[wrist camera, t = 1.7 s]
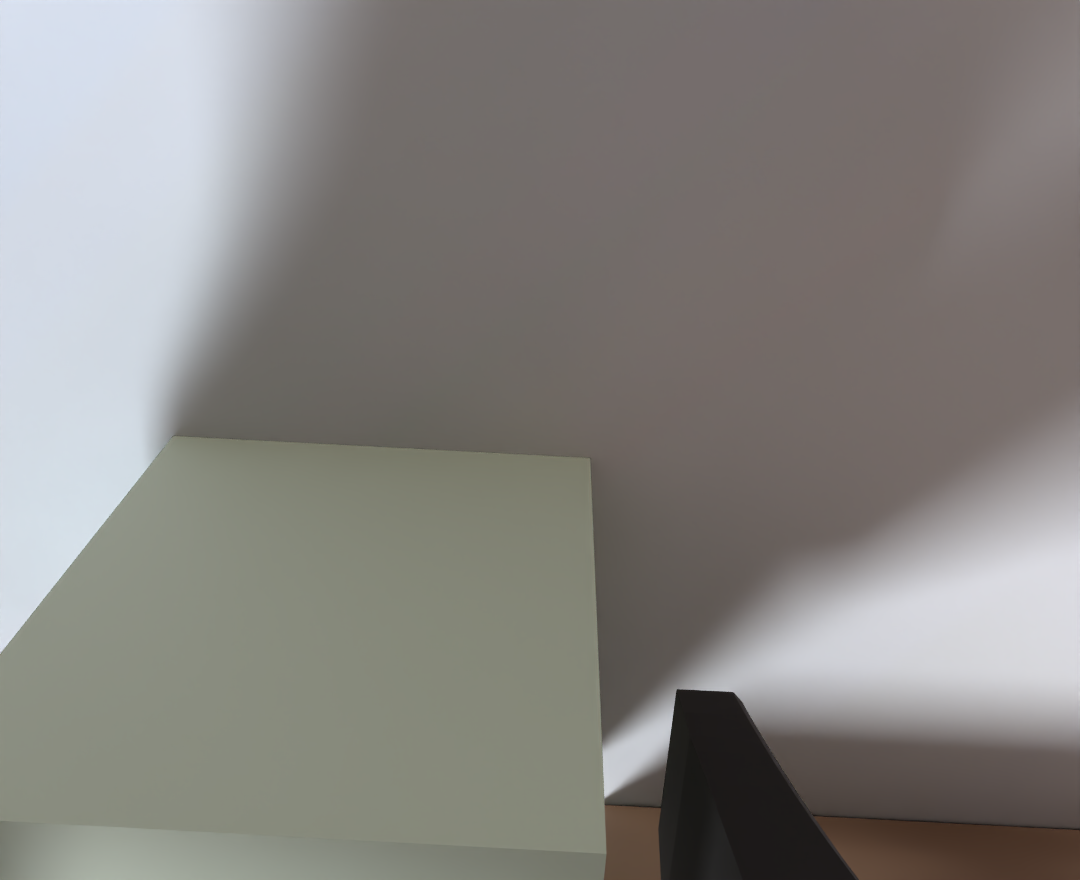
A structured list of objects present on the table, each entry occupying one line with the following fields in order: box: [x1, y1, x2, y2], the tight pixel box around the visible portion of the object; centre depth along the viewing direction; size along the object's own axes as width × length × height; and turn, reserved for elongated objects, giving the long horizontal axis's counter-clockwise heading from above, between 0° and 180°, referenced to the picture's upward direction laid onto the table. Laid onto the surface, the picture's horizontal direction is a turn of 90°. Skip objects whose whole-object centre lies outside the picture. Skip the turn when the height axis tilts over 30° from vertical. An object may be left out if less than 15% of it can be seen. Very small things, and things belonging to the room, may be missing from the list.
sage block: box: [0, 436, 606, 880], centre depth 11 cm, size 5×5×6 cm
